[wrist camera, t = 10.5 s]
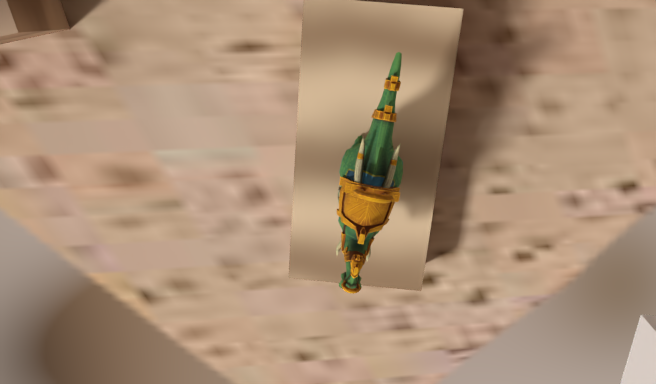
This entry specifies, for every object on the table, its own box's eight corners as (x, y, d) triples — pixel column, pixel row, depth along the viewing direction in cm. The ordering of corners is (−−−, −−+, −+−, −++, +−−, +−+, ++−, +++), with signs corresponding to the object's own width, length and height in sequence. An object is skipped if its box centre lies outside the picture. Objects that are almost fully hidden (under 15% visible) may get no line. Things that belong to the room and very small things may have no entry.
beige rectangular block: (309, -3, 30) (303, -4, 27) (453, 8, 29) (463, 8, 26) (294, 255, 35) (288, 278, 32) (416, 267, 35) (421, 290, 32)
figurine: (323, 247, 31) (310, 326, 23) (364, 38, 27) (363, 51, 19) (375, 257, 31) (379, 338, 23) (423, 49, 27) (446, 66, 19)
